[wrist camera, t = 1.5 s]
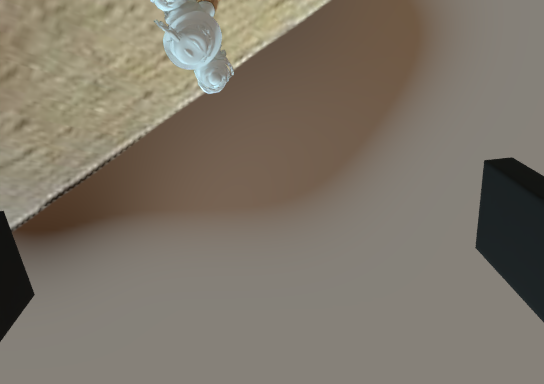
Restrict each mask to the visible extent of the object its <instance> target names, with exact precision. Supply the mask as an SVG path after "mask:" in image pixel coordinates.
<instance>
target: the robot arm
mask: <svg viewBox="0 0 544 384" xmlns="http://www.w3.org/2000/svg"><path fill="white" fill-rule="evenodd" d="M476 249H477V250H478V251H479V252H480V253H481V254H482V255H483V256H484V258H485V259H486V260H487V261H488V262H489V263H490V264H491V265H492V266H493V267H494V268H495V270H496V271H497V272H498V273H499V274H500V275H501V276H502V277H503V278H504V279H505V280H506V281H507V283H508V284H509V285H510V286H511V287H512V288H513V289H514V290H515V291H516V293H517V294H519V296H520V297H521V298H522V299H523V300H524V301H525V302H526V303H527V305H528V306H529V307H530V308H531V309H532V310H533V311H534V312H535V313H536V314H537V315H538V317H539V318H540V319H541V320H542V321H543V322H544V176H542V175H541V174H539V173H537V172H536V171H534V170H532V169H531V168H529V167H527V166H526V165H524V164H522V163H521V162H519V161H517V160H516V159H514V158H502V159H493V160H485V161H484V169H483V179H482V189H481V200H480V209H479V219H478V229H477V239H476ZM33 296H34V292H33V289H32V287H31V284H30V281H29V278H28V275H27V273H26V270H25V267H24V265H23V262H22V259H21V257H20V254H19V251H18V248H17V246H16V244H15V240H14V238H13V235H12V232H11V230H10V227H9V224H8V222H7V219H6V216H5V213H4V211H0V341H1V340H2V339H3V337H4V336H5V335H6V333H7V331H8V330H9V329H10V328H11V326H12V325H13V323H14V322H15V321H16V320H17V318H18V317H19V315H20V314H21V313H22V311H23V310H24V308H25V307H26V306H27V304H28V303H29V302H30V300H31V299H32V298H33Z"/></svg>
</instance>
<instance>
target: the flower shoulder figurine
mask: <svg viewBox="0 0 544 384" xmlns="http://www.w3.org/2000/svg"><path fill="white" fill-rule="evenodd" d="M150 1H151V2H152V3H155V4H156V6H157V7H158V8H159V9H161V10H163V11H164V14H165V21H166V23H167V24H169V25H168V27H167V26H166V25H165V24H164V23H163V22H161V21H160V23H159V22H158V21H157V20H156V21H157V22H156V21H154V22H155V23H156V24H157V25H158V26H159V27H160V28H162V29H163V30H164V31H165V35H164V38H163V44H164V49H165V51H166V54H167V55H168V57H169V59H170V60H171V61H172V62H173V63H174V64H175V65H176V66H178V67H180V68H183V69H188V70H190V69H196V71H195V70H194V73H195V75H196V77H197V79H198V80H199V81H198V85H199V86H200V87H201V89H202V90H203V91H204V92H206V93H208V94H209V93H216V92H220V91H221V90H222V89H223V88H224V86H225V84H226V82H228V79H229V78H230V77H231V76H232V75H234V71H233V67H232V65H231V64H230V62H229V61H228V59H227V57H226V52H225V50H222V52H221V51H220V49H221V46H222V45H221V40H222V34H221V30H220V27H219V25H218V23H217V22H216V20H215V19H214V18H213V16H214V14H215V8H214V6H213V4H212V3H210V2H208V1H201V2H199V3H198V2H197V1H196V0H150ZM153 1H154V2H153ZM225 59H226V60H225ZM226 65H228V66H229V67H230V70H231V76H230V77H229V70H228V68H227V66H226ZM202 83H203V84H204V85H205V86H206V87H205V86H204V85H203V84H202ZM207 87H208V88H207Z"/></svg>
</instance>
